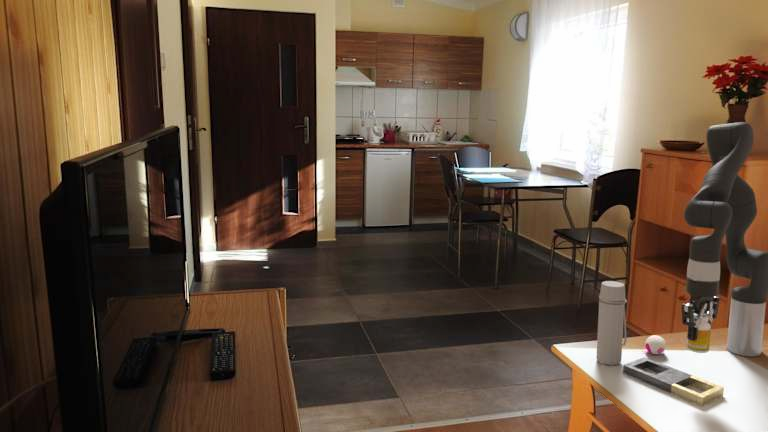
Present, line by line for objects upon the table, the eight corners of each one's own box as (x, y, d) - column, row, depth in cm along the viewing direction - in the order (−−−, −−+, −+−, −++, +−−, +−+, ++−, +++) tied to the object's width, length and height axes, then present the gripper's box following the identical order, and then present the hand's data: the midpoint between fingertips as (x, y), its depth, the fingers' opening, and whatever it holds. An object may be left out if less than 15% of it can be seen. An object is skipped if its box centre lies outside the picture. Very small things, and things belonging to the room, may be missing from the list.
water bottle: (605, 368, 169) (609, 288, 165) (590, 357, 177) (594, 281, 172) (632, 365, 171) (637, 286, 167) (617, 354, 178) (621, 278, 174)
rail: (643, 364, 171) (644, 357, 170) (723, 396, 151) (723, 387, 150) (622, 372, 166) (623, 365, 165) (701, 406, 146) (702, 397, 145)
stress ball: (646, 357, 183) (634, 340, 184) (669, 346, 181) (657, 329, 181) (649, 366, 176) (637, 348, 177) (673, 354, 174) (661, 336, 174)
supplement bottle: (712, 354, 147) (715, 318, 146) (689, 352, 148) (692, 317, 147) (704, 346, 153) (707, 311, 151) (683, 344, 154) (685, 311, 152)
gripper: (704, 268, 154) (699, 327, 157) (673, 277, 147) (668, 338, 149) (732, 275, 147) (727, 336, 150) (701, 284, 140) (696, 348, 143)
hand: (698, 337), depth 150 cm, fingers closed on supplement bottle, 5 cm apart
